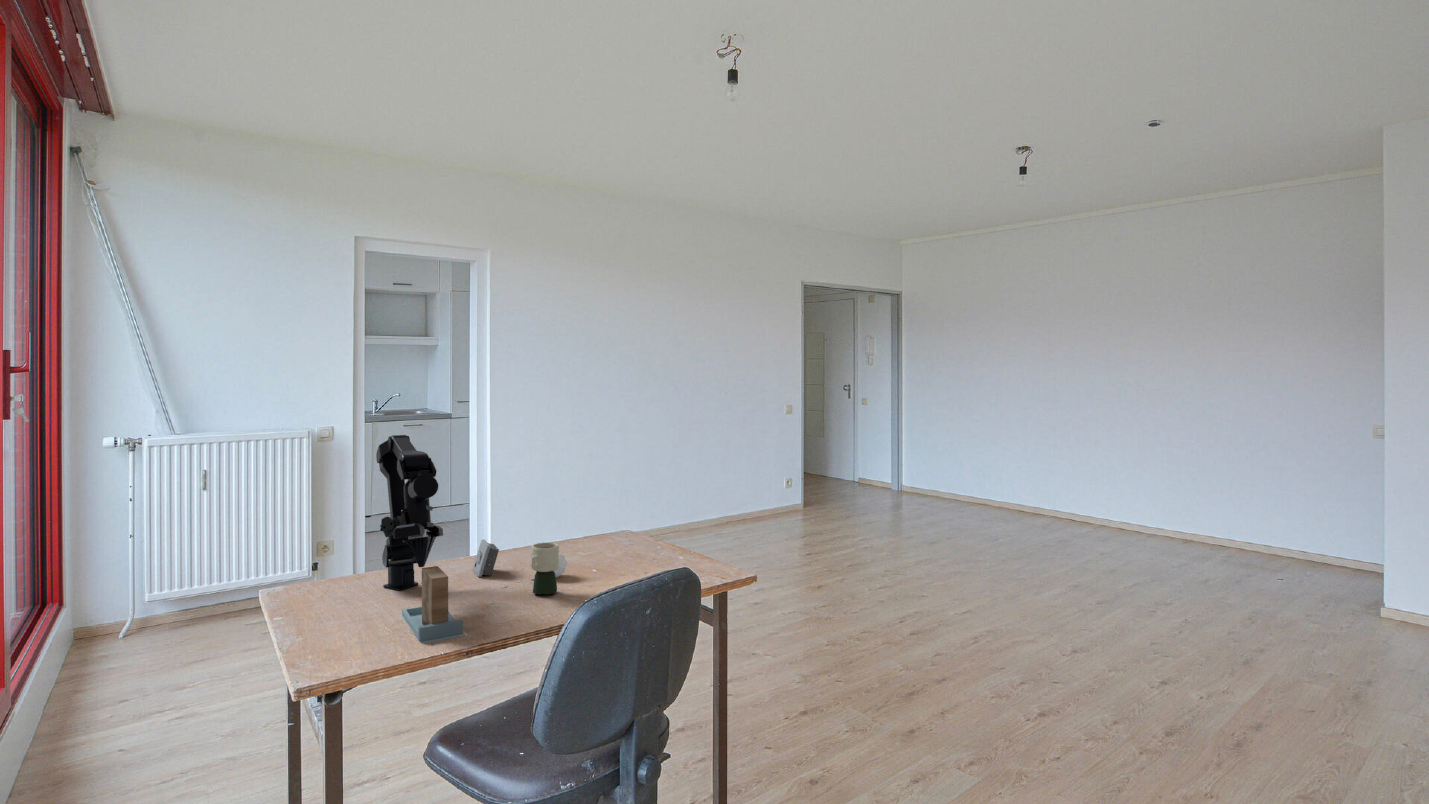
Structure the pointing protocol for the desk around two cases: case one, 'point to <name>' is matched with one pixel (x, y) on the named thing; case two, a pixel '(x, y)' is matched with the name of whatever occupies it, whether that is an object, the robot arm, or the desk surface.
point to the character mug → (545, 567)
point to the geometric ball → (560, 565)
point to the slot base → (432, 626)
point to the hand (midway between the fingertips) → (421, 567)
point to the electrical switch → (485, 559)
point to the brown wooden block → (434, 596)
